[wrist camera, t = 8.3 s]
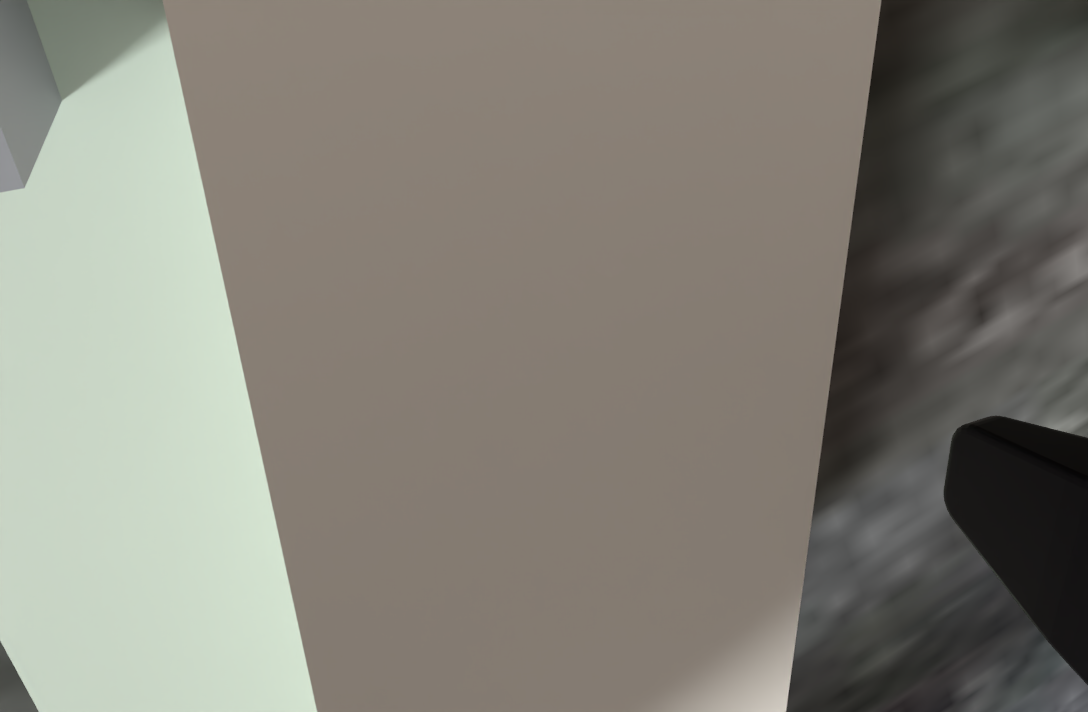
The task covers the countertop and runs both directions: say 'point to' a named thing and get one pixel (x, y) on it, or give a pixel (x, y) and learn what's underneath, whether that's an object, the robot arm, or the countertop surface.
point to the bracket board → (124, 391)
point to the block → (535, 331)
